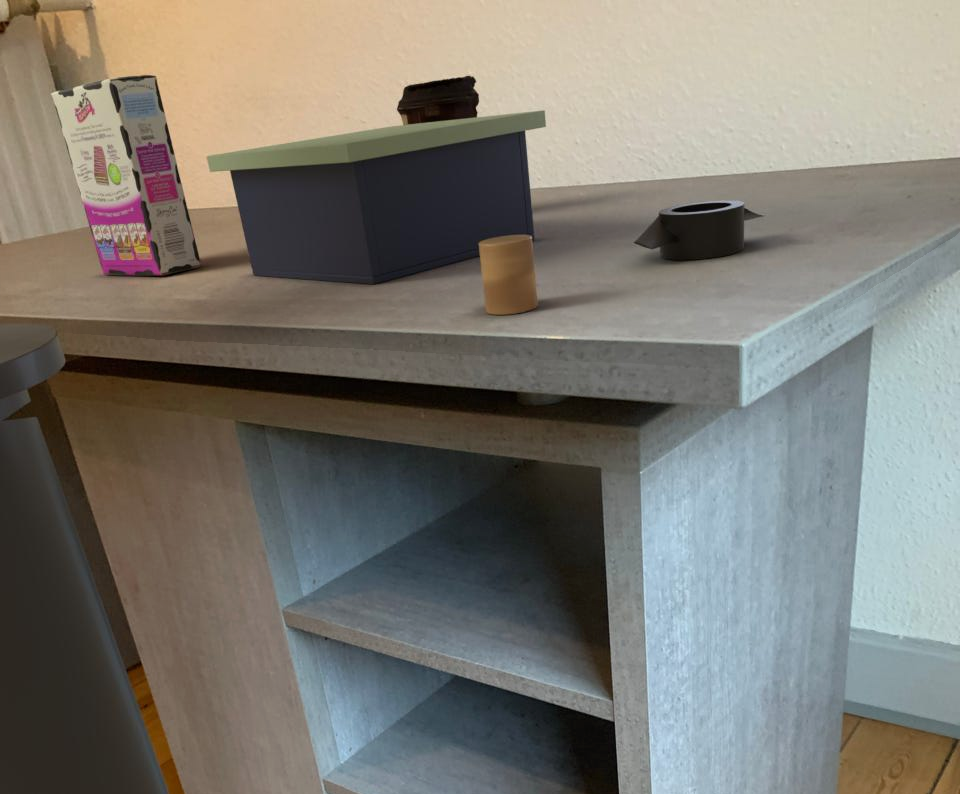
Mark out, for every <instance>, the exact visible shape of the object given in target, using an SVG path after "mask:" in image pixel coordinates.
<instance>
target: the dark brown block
mask: <svg viewBox="0 0 960 794" xmlns="http://www.w3.org/2000/svg"><path fill="white" fill-rule="evenodd" d="M476 83H477V79H476V78H475V76H472V75H465V76H461V77H460V76H458V77H451V78H443V79H437V80H432V81H427V82H420V83H414V84H408V85H406V86H404V88H403V91H402V95H401V99H400V100H399V101H398V103H397V107H396V111H397V113H398V114H399V116H400V117H401V121H402V125H409V124H419V123H428V122H438V121H447V120H457V119H466V118H476V117H478V109H477V107H478V106H479V103H480V95H479V93H478V92H477V90H476V89H475V87H476V86H475V85H476Z"/></svg>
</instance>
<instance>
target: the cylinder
mask: <svg viewBox="0 0 960 794" xmlns="http://www.w3.org/2000/svg"><path fill="white" fill-rule="evenodd" d="M479 253H480V256H479V262H480V270H481V271H480V272H481V279H482V287H483V296H484V305H485V312H486V314H488V315H492V316H493V315H494V316H497V315H498V316H504V315H505V316H506V315H515V314H521V313H526V312H530V311H532V310H535V309H536V308H537V307H538V306H539V302H538V290H537V280H536V279H537V277H536V268H535V266H536V265H535V256H534V245H533V241H532V236H530V235H509V236H501V237H495V238H490V239H486V240H483V241H481V242H479Z"/></svg>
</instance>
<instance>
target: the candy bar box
mask: <svg viewBox="0 0 960 794" xmlns="http://www.w3.org/2000/svg"><path fill="white" fill-rule="evenodd" d="M50 94H51V98H52V100H53V104H54V107H55V111H56V114H57V117H58V118H57V119H58V120H59V124H60V128H61V132H62V135H63V138H64V141H65V145H66V150H67V153H68V156H69V159H70V163H71V167H72V169H73V174H74V177H75V181H76V184H77V187H78V190H79V195H80V198H81V202H82V205H83V208H84V211H85V215H86V218H87V222H88V226H89V229H90V232H91V236H92V239H93V243H94V247H95V250H96V254H97V257H98V261H99V264H100V267H101V271H102V274H103V275H105V276H137V277H138V276H142V277H143V276H146V277H147V276H148V277H149V276H150V277H152V276H153V277H156V276H157V277H158V276H159V277H163V276H167V275H171V274H172V275H173V274H177V273H179V272H185V271H188V270H194V269H197V268H199V267H201V266H202V262H201V258H200V254H199V250H198V245H197V242H196V238H195V234H194V229H193V225H192V220H191V217H190V213H189V208H188V205H187V200H186V197H185V193H184V188H183V184H182V180H181V176H180V172H179V168H178V164H177V163H178V162H177V159H176V154H175V150H174V146H173V141H172V138H171V134H170V130H169V125H168V122H167V117H166V113H165V108H164V105H163V101H162V100H163V99H162V97H161V92H160V88H159V84H158V78H157V75H152V74H142V75H129V76H119V77H111V78H107V79H106V78H105V79H103V80H98V81H94V82H90V83H86V84H81V85H78V86H74V87H68V88H64V89H61V90H57V91H53V92H52V93H50Z"/></svg>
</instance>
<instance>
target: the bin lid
mask: <svg viewBox="0 0 960 794" xmlns="http://www.w3.org/2000/svg"><path fill="white" fill-rule="evenodd" d="M546 127H547V120H546V111H545V110H543V109H542V110H534V111H525V112H524V111H523V112H515V113H505V114H497V115H495V114H494V115H486V116H477V117H476V118H466V119H457V120H447V121H438V122H428V123H419V124H409V125H403V124H401V125H392V126H391V125H390V126H385V127H379V128H373V129H367V130H359V131H353V132H348V133H347V132H346V133H342V134H335V135H329V136H324V137H317V138H309V139H305V140H298V141H291V142H285V143H279V144H274V145H273V144H272V145H267V146H260V147H254V148H247V149H241V150H236V151H229V152H223V153H216V154H211V155H210V154H209V155H207V156H206V161H207V165H208V169H209V172H210V173H213V172H230V170H245V169H260V168H274V167H289V166H304V165H319V164H333V163H348V162H355V161H360V160H366V159H371V158H377V157H382V156H388V155H393V154H399V153H405V152H410V151H416V150H421V149H427V148H432V147H438V146H443V145H449V144H454V143H460V142H465V141H471V140H476V139H482V138H487V137H493V136H498V135H504V134H509V133H515V132H520V131H525V132H526V131H532V130H536V129H543V128H546Z"/></svg>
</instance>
